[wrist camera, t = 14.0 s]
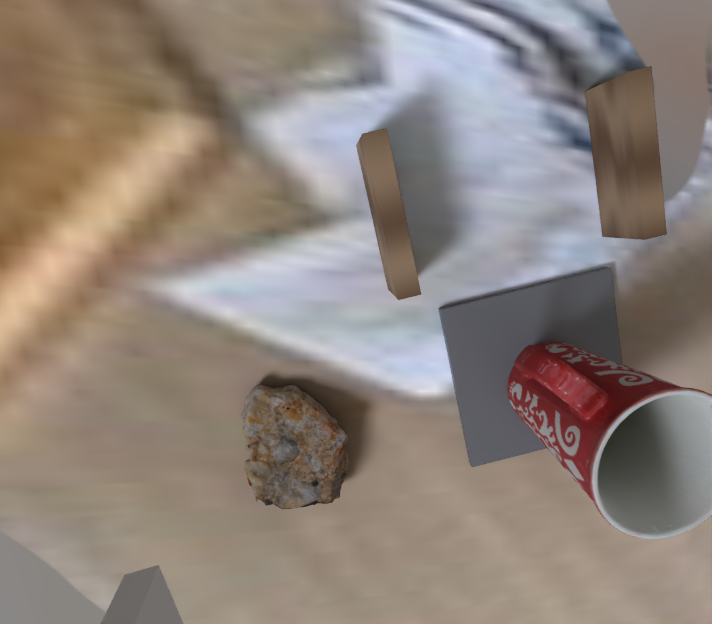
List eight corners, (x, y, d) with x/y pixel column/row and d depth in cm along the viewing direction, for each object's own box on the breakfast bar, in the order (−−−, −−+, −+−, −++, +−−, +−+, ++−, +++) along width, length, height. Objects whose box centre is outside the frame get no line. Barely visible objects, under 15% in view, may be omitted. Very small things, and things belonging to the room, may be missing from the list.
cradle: (356, 145, 35) (362, 133, 30) (605, 86, 36) (651, 66, 31) (388, 289, 37) (398, 299, 32) (621, 231, 38) (666, 234, 33)
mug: (623, 377, 40) (778, 456, 27) (547, 454, 41) (660, 569, 27) (522, 277, 37) (636, 311, 24) (443, 362, 38) (512, 438, 25)
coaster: (438, 308, 38) (440, 309, 37) (606, 267, 38) (610, 268, 38) (469, 463, 41) (471, 467, 40) (625, 423, 41) (629, 426, 41)
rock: (357, 480, 41) (347, 379, 37) (345, 536, 35) (331, 426, 32) (261, 475, 42) (242, 378, 38) (236, 528, 37) (210, 422, 33)
